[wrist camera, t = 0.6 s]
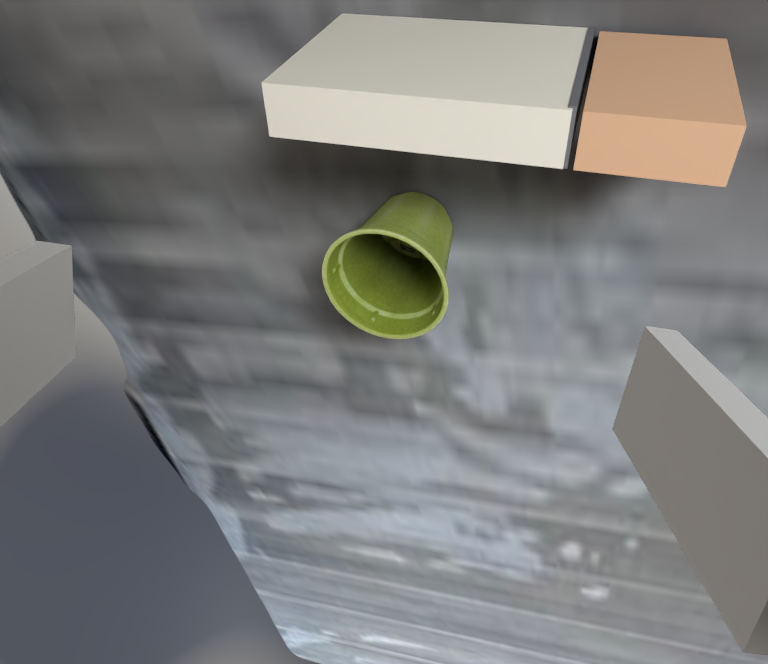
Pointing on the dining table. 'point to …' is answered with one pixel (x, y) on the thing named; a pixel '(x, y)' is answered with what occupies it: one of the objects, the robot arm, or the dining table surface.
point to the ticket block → (436, 88)
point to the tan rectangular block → (661, 109)
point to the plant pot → (393, 268)
